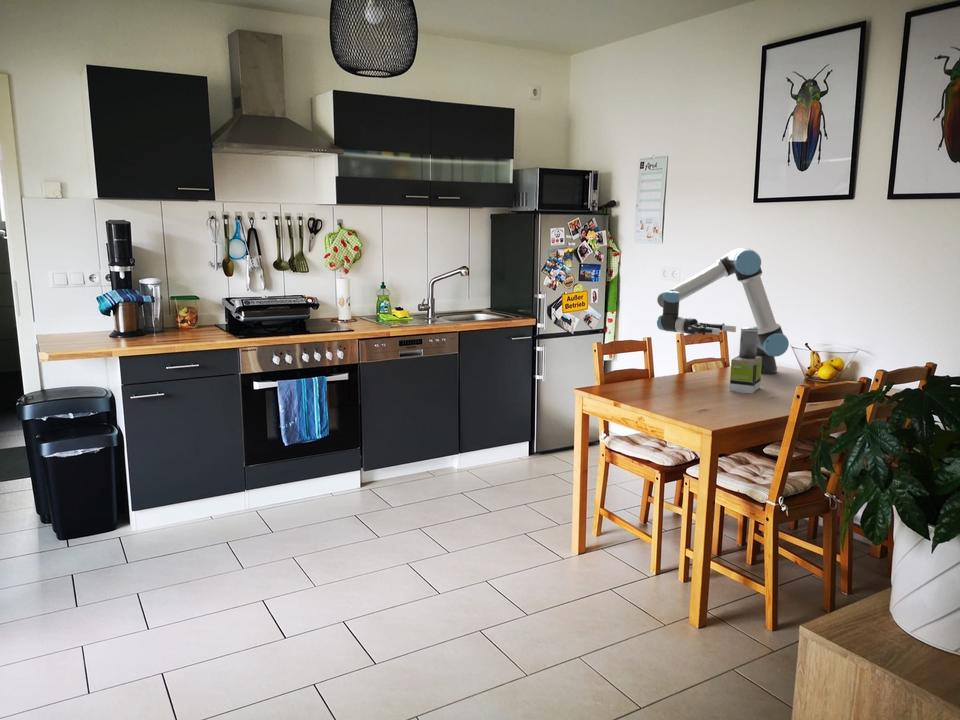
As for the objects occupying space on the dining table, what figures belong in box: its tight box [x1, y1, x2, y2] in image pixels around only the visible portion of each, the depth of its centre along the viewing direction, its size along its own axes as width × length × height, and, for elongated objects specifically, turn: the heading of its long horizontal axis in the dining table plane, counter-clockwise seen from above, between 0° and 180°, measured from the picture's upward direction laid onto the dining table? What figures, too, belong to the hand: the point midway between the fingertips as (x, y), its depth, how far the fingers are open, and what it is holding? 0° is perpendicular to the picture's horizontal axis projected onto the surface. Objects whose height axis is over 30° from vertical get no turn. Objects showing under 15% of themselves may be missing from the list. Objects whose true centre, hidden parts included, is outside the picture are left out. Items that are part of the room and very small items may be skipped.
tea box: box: [729, 355, 762, 395], centre depth 321 cm, size 15×10×15 cm, turn 146°
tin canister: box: [738, 326, 758, 359], centre depth 318 cm, size 7×7×13 cm
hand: (727, 330), depth 327 cm, fingers open, 13 cm apart
